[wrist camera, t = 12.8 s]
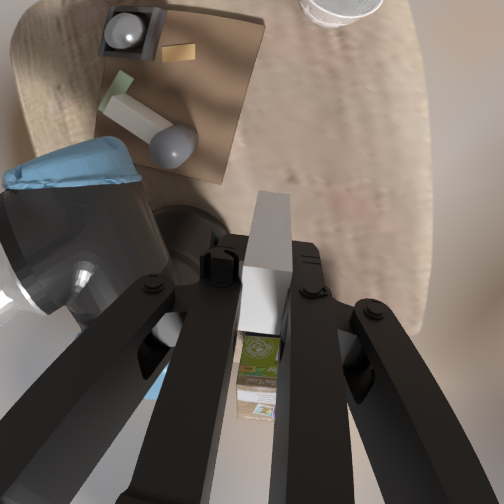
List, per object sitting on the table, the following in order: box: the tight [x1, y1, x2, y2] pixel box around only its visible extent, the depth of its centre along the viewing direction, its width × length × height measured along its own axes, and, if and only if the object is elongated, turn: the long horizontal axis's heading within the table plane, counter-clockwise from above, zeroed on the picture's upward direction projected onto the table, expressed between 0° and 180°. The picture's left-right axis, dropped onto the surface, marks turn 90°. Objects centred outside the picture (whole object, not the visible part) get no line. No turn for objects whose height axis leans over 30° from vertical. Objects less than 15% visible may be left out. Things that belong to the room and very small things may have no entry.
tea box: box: [236, 331, 281, 422], centre depth 47 cm, size 15×10×15 cm, turn 89°
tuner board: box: [94, 6, 266, 185], centre depth 33 cm, size 20×18×4 cm
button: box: [104, 13, 149, 49], centre depth 28 cm, size 4×4×3 cm
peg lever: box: [103, 94, 198, 169], centre depth 33 cm, size 12×4×5 cm, turn 53°
